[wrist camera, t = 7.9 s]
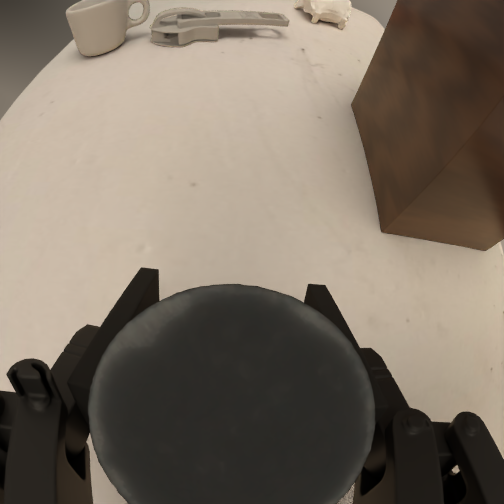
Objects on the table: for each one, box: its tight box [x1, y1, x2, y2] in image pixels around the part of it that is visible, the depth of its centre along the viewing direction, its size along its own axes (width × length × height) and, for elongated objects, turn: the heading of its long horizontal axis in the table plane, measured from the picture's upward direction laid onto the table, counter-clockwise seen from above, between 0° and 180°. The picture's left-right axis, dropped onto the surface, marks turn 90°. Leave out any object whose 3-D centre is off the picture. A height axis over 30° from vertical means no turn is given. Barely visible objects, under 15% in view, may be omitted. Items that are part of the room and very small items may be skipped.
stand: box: [351, 0, 504, 251], centre depth 14 cm, size 15×13×19 cm
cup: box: [66, 0, 150, 56], centre depth 23 cm, size 11×8×8 cm
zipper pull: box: [150, 8, 289, 47], centre depth 28 cm, size 8×18×4 cm, turn 103°
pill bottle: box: [88, 284, 376, 504], centre depth 9 cm, size 6×6×11 cm
